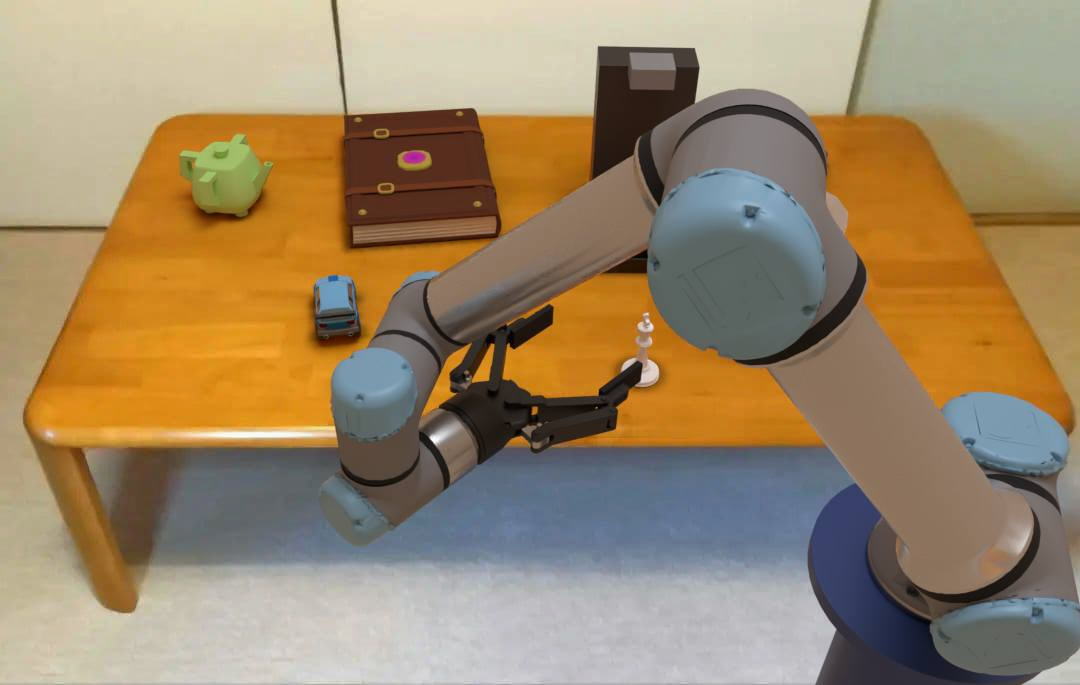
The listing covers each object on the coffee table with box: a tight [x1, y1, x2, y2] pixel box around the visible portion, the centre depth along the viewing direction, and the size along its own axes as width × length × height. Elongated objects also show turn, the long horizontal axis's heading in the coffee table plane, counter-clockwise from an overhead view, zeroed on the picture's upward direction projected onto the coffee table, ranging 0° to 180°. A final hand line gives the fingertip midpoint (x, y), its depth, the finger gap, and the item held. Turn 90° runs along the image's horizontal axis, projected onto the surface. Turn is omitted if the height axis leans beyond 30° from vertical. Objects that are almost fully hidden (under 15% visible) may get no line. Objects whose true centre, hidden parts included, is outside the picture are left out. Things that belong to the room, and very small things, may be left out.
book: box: [342, 107, 502, 248], centre depth 160 cm, size 23×32×5 cm
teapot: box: [178, 133, 275, 218], centre depth 154 cm, size 12×12×10 cm
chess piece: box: [620, 312, 660, 388], centre depth 127 cm, size 5×5×10 cm
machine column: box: [589, 45, 701, 182], centre depth 149 cm, size 11×14×26 cm
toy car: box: [313, 274, 362, 341], centre depth 135 cm, size 6×12×6 cm, turn 12°
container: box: [826, 190, 850, 236], centre depth 132 cm, size 14×14×18 cm
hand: (594, 341), depth 117 cm, fingers open, 13 cm apart
